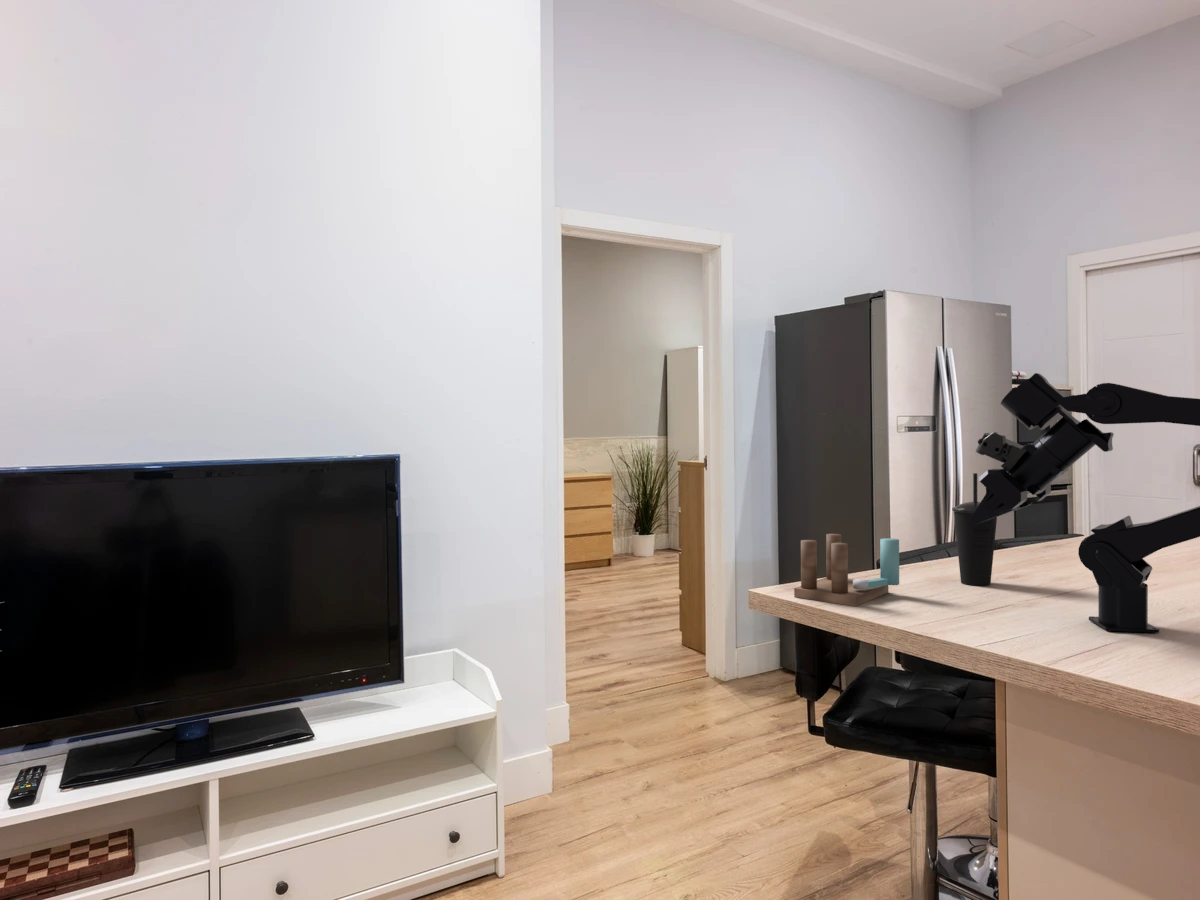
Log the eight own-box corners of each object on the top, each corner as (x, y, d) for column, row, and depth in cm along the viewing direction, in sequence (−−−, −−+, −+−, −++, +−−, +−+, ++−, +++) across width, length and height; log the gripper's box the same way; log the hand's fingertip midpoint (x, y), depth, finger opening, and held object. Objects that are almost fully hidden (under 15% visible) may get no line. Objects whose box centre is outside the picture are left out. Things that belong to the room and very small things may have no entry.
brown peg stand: (888, 592, 131) (888, 537, 131) (855, 606, 121) (855, 547, 121) (829, 584, 138) (829, 532, 138) (794, 597, 129) (793, 541, 128)
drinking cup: (988, 579, 141) (988, 472, 140) (1006, 587, 133) (1006, 474, 133) (946, 579, 142) (945, 472, 141) (961, 587, 134) (961, 474, 133)
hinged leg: (862, 590, 124) (862, 544, 123) (848, 587, 126) (848, 542, 126) (903, 583, 128) (903, 539, 128) (888, 581, 131) (888, 537, 131)
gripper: (1028, 414, 122) (956, 480, 130) (993, 413, 108) (915, 487, 116) (1085, 464, 117) (1006, 529, 125) (1056, 470, 103) (970, 543, 111)
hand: (974, 521), depth 119 cm, fingers open, 3 cm apart
